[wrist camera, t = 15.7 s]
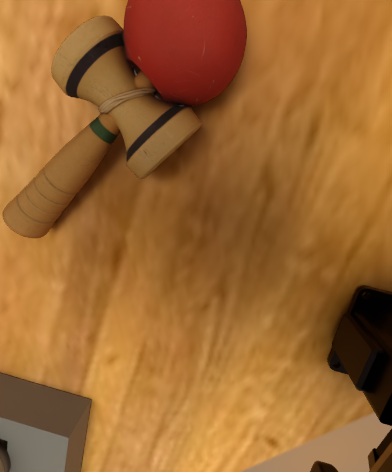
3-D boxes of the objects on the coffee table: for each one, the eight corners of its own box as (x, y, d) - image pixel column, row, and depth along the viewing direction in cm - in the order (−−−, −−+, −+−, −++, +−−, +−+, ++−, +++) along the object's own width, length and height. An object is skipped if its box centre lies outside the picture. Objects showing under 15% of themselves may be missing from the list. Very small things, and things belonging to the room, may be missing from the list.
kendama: (95, 256, 22) (288, 74, 15) (22, 283, 16) (281, 10, 10) (39, 179, 23) (202, -30, 16) (-50, 179, 17) (146, -151, 10)
